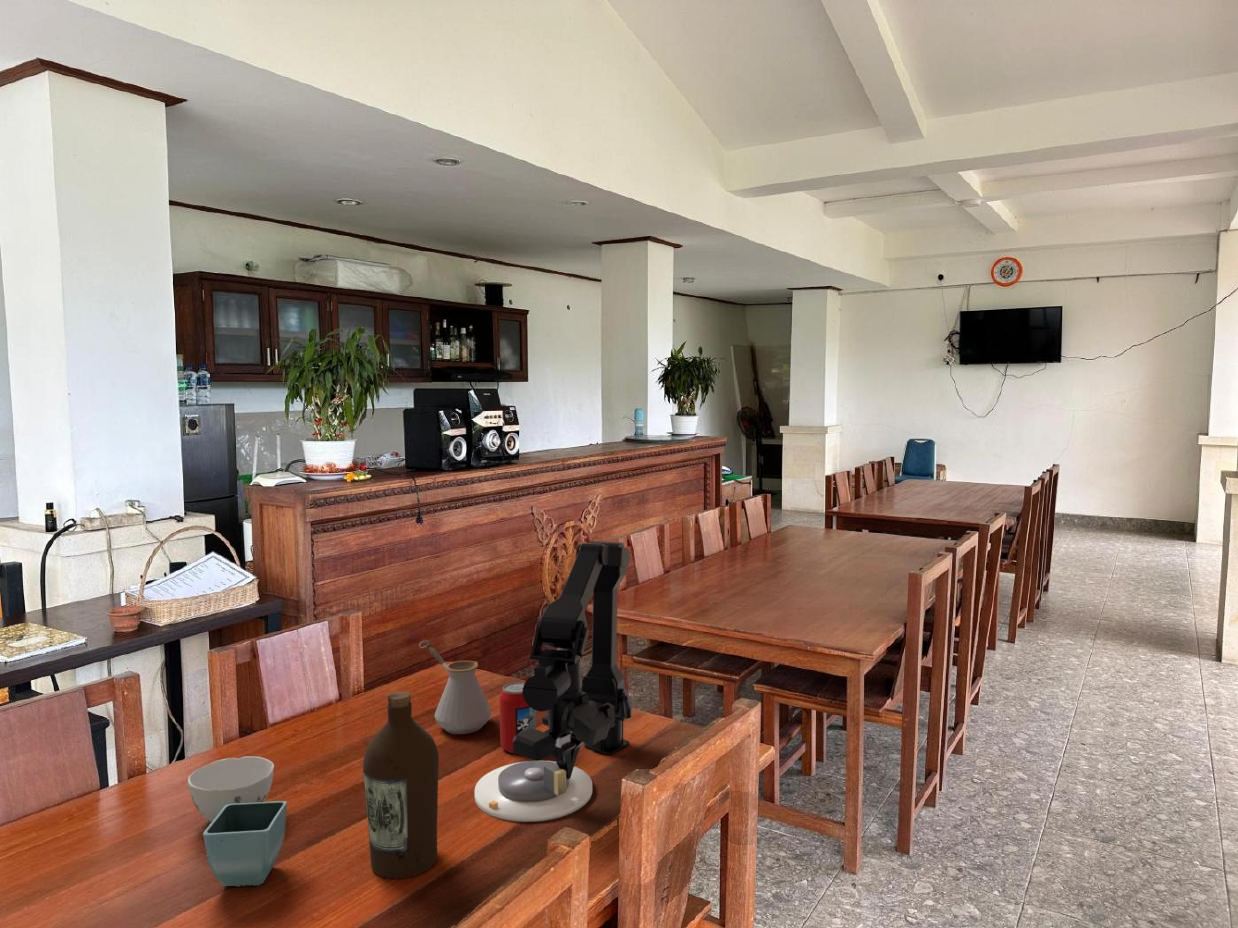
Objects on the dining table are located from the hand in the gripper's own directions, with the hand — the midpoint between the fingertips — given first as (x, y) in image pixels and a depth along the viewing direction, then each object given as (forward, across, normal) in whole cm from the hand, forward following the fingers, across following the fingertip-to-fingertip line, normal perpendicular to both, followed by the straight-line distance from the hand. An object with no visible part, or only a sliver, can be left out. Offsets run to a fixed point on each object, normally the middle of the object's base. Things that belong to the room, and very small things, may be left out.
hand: (567, 778), depth 140 cm
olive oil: (+4, -28, +6) cm, 29 cm away
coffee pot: (+4, +10, +43) cm, 45 cm away
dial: (+3, -1, +6) cm, 7 cm away
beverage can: (+4, +10, +22) cm, 25 cm away
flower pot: (+3, -44, +20) cm, 49 cm away
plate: (+4, -1, +7) cm, 8 cm away
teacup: (+3, -38, +39) cm, 55 cm away
